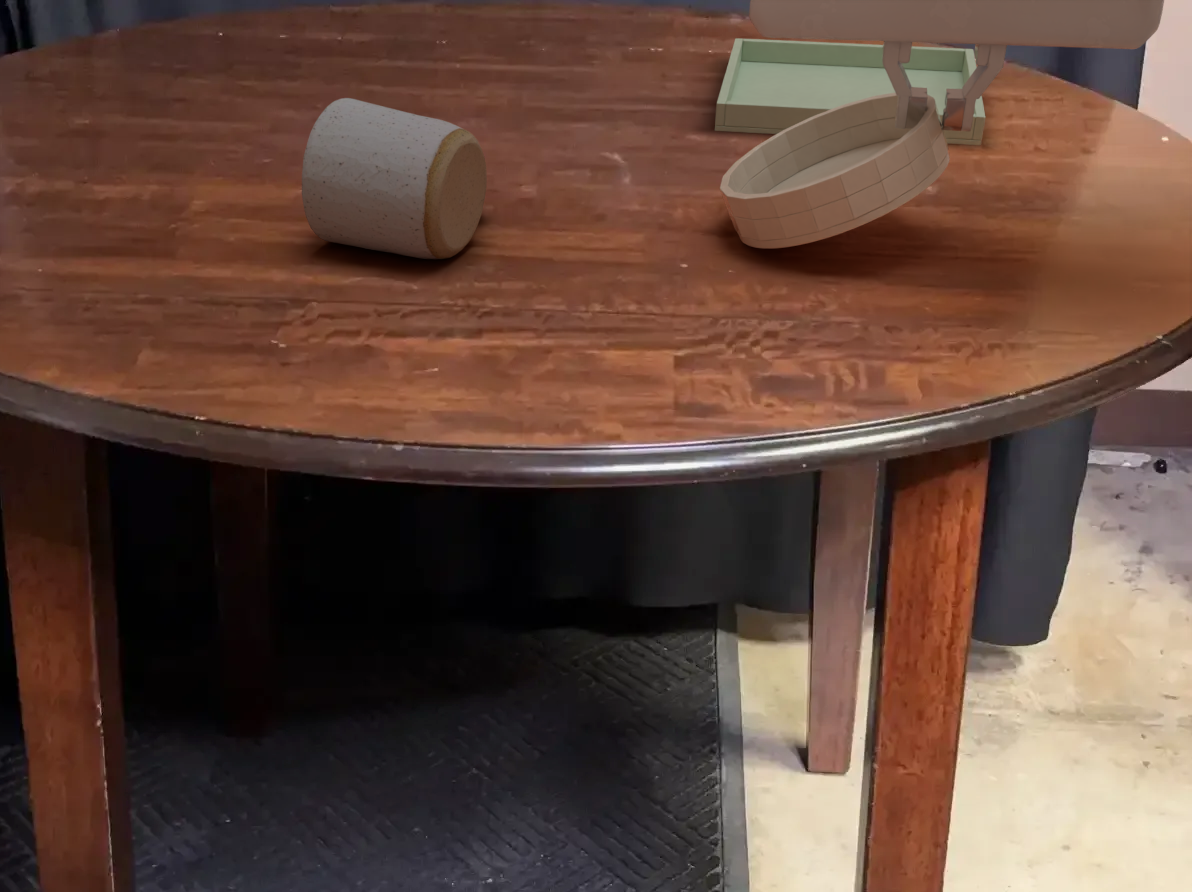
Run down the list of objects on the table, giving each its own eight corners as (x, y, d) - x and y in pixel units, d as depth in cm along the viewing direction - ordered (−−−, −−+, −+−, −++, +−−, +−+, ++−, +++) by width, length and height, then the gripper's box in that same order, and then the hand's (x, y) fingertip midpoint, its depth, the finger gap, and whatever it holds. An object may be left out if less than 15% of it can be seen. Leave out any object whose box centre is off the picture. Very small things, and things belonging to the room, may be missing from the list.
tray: (968, 77, 111) (973, 48, 109) (980, 148, 98) (985, 116, 97) (733, 65, 113) (735, 37, 112) (714, 133, 100) (716, 102, 99)
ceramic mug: (437, 283, 80) (433, 137, 76) (303, 260, 83) (291, 117, 78) (518, 220, 88) (518, 84, 84) (393, 200, 91) (387, 68, 86)
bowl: (946, 121, 86) (931, 70, 85) (954, 194, 76) (938, 139, 75) (746, 194, 91) (729, 147, 89) (730, 272, 81) (710, 221, 80)
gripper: (750, -156, 72) (732, 137, 80) (1206, -151, 68) (1138, 154, 76) (759, -176, 77) (741, 101, 85) (1184, -173, 73) (1122, 116, 81)
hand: (932, 127), depth 81 cm, fingers closed on bowl
